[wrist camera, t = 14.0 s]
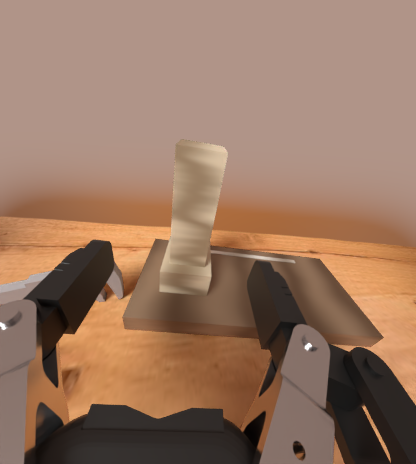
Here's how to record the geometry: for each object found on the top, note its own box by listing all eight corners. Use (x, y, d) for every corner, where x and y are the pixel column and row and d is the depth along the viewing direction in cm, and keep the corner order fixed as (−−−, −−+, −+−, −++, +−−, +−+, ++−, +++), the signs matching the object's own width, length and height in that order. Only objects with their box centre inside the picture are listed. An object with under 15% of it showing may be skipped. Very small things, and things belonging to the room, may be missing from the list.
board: (313, 267, 29) (319, 258, 28) (370, 346, 19) (384, 337, 18) (155, 249, 26) (155, 238, 25) (124, 328, 16) (122, 316, 15)
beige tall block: (206, 255, 24) (228, 145, 17) (206, 296, 19) (240, 158, 11) (170, 250, 24) (176, 135, 16) (159, 291, 18) (161, 144, 11)
